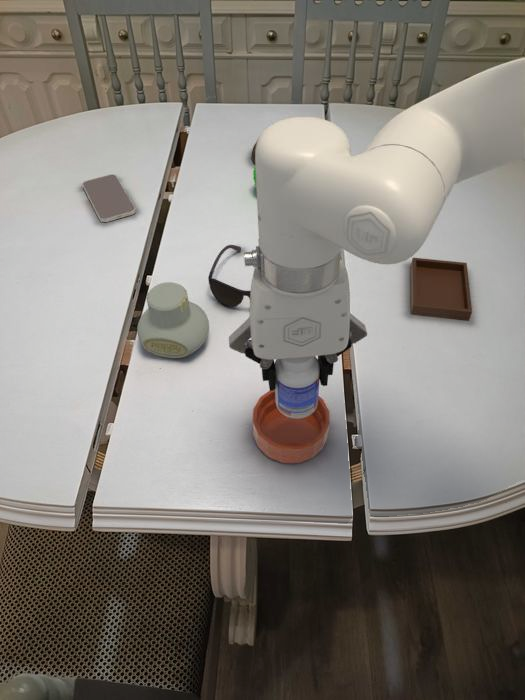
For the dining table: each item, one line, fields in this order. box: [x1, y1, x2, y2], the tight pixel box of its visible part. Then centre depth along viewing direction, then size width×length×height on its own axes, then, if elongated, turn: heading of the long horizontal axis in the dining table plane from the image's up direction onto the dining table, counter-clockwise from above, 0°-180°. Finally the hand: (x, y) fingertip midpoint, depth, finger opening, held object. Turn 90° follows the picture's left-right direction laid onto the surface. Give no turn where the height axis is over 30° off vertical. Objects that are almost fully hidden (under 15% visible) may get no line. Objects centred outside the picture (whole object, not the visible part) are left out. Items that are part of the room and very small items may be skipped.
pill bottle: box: [274, 356, 320, 419], centre depth 63 cm, size 5×5×10 cm
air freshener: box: [136, 281, 210, 359], centre depth 80 cm, size 11×8×10 cm
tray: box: [410, 257, 473, 322], centre depth 90 cm, size 12×9×2 cm
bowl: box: [252, 389, 331, 464], centre depth 71 cm, size 10×10×4 cm
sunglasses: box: [207, 244, 251, 308], centre depth 91 cm, size 14×16×5 cm
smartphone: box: [82, 173, 137, 223], centre depth 109 cm, size 7×1×15 cm
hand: (296, 377), depth 63 cm, fingers closed on pill bottle, 5 cm apart
